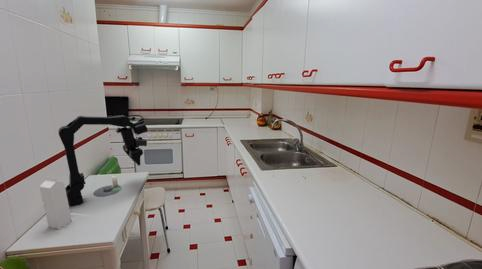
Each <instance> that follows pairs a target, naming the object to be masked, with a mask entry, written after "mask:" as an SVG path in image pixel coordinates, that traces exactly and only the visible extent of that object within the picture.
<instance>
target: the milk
mask: <svg viewBox="0 0 482 269" xmlns="http://www.w3.org/2000/svg"><path fill="white" fill-rule="evenodd" d="M65 188H66V184H65V182H64V181H58V180H57V178H56V177H53V176H45V179H44V181H43V182H42V184H40V185H39V192H40V195H41V196H40V197H41V200H42V203H43V209H44V212H45V213H44V214H45V217H46V222H47V226H48V228H53V229H57V230H60V229H61V228H63V227H65V226H66V225H69V223H72V215H71V211H70V210H71V209H70V206H69V205H68V200H67V194H66V189H65Z"/></svg>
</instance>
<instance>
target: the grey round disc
mask: <svg viewBox="0 0 482 269" xmlns="http://www.w3.org/2000/svg"><path fill="white" fill-rule="evenodd" d="M106 186H107V185H105V186H102V187H99V188H97V189H95V190H94V192H93V193H92V195H93V196H94V197H97V198H99V197H100V198H104V197H110V196H113V195H116V194H118V193H119V192H120V191H122V188H123V187H122V186H121V185H119V184H118V185H116V186H114V187H113V188H112V190H111V191H109V192H104V190H103V188H104V187H106ZM109 186H113V184H112V185H109Z"/></svg>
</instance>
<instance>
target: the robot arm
mask: <svg viewBox="0 0 482 269" xmlns="http://www.w3.org/2000/svg"><path fill="white" fill-rule="evenodd" d="M84 125H91V126H92V125H96V126H97V125H101V126H102V125H104V126H106V125H107V126H108V125H110V126H115V127H117V129H116V130H115V132H116V133H117V134H119V133H120V135H121V137H122V142H123V146H122V149H123V151H124V153H126V155H127V156H128V157H129V158H130V160H132V161H133V162H134V164H135V163H136V165H137V166H138V167H139V166H141V156H143V154H144V151H143V149H141V147H147V144H148V140H147V139H144V138H143V137H141V136H138V135H143V134H145V133H147V132H148V126H147V125H146V123H145V122H144V120H140V121H137V122H132V121H130V118H129V117H128V116H125V115H124V114H121V115H120V114H119V115H113V116H86V115H78V116H77V117H76V118H75V119H73V120H71V122H69V123H68V124H67V125H63V126H61V127H59V128H58V131H57V132H58V137H59V139H60V140H61V144H62V145H63V147H64V151H65V157H66V160H67V166H68V167H67V168H68V171H69V177H68V178H69V180H68V183H69V184H68V185H67V186H65V189H66V194H67V200H68V205H69V207H74V206H80V205H82V204H83V203H84V199H83V195H82V192H81V191H82V190H84V188H85V185H86V181H85V175H84V173H83V172H81V173H80V171H79V166H78V162H77V157H76V151H75V146H74V145H75V144H74V143H75V134H76V133H77V132H78V131H79V130H80V129H81V128H82V127H83V126H84ZM135 134H136V135H137V136H138V137H137V138H135Z"/></svg>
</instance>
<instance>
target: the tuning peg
mask: <svg viewBox="0 0 482 269" xmlns="http://www.w3.org/2000/svg"><path fill="white" fill-rule="evenodd" d="M111 180H112V182H111V183H112V185H113V186H110V185H105V186H106V187H105V186H103V187H104V188H103V190H104V192H109V191H111V190H112V188H113V187H114V186H116V185H118V186H119V182H118V176H117V175H112V176H111Z"/></svg>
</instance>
